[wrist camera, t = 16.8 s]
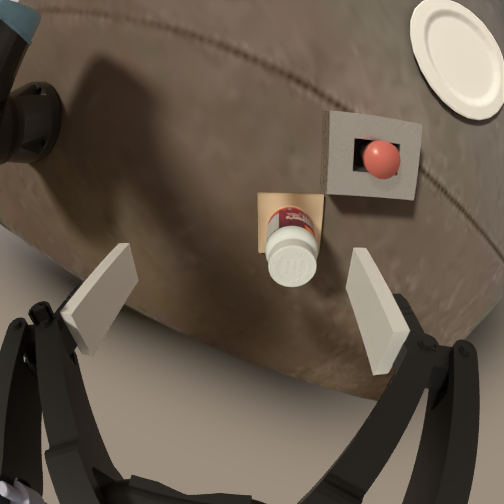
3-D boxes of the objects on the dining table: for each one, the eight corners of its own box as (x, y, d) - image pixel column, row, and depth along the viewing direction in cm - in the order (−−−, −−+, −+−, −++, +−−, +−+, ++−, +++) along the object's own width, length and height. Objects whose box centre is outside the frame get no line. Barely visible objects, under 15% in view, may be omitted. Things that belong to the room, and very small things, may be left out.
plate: (477, 145, 30) (483, 147, 28) (383, 54, 26) (388, 52, 25) (512, 66, 20) (518, 66, 19) (430, -21, 17) (434, -24, 15)
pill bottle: (318, 215, 38) (333, 255, 28) (299, 250, 40) (304, 298, 30) (278, 197, 37) (279, 231, 27) (260, 234, 40) (254, 279, 30)
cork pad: (258, 250, 42) (258, 252, 41) (258, 192, 37) (257, 193, 37) (318, 252, 41) (318, 254, 40) (323, 194, 37) (324, 195, 36)
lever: (350, 166, 33) (364, 177, 28) (352, 134, 31) (366, 139, 26) (380, 169, 33) (398, 181, 28) (382, 138, 31) (402, 143, 26)
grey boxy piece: (320, 185, 36) (326, 195, 32) (322, 111, 31) (329, 110, 27) (399, 190, 35) (413, 201, 31) (405, 122, 30) (421, 124, 26)
